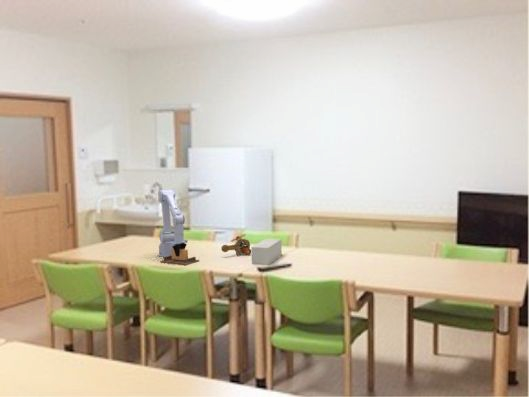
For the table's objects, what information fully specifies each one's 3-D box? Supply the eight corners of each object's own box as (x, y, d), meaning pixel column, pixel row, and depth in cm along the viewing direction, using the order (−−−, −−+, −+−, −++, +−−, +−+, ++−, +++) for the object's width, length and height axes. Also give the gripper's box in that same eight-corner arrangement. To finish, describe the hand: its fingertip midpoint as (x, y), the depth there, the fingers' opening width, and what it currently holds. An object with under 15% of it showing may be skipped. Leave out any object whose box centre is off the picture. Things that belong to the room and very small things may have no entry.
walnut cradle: (160, 262, 353) (159, 257, 353) (174, 258, 365) (174, 253, 365) (185, 265, 343) (185, 260, 343) (199, 261, 355) (199, 256, 355)
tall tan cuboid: (171, 258, 355) (171, 249, 354) (175, 257, 358) (174, 248, 357) (184, 260, 350) (184, 250, 349) (187, 259, 353) (187, 249, 352)
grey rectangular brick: (266, 254, 376) (265, 238, 375) (281, 255, 373) (281, 239, 372) (251, 264, 345) (251, 247, 344) (268, 265, 342) (268, 247, 341)
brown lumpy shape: (252, 255, 373) (252, 234, 372) (225, 258, 362) (224, 237, 361) (246, 253, 380) (246, 232, 379) (219, 256, 369) (218, 235, 368)
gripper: (176, 236, 344) (177, 258, 345) (191, 232, 357) (191, 254, 358) (167, 235, 348) (168, 257, 349) (182, 232, 360) (182, 253, 361)
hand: (179, 255), depth 354 cm, fingers closed on tall tan cuboid, 3 cm apart
